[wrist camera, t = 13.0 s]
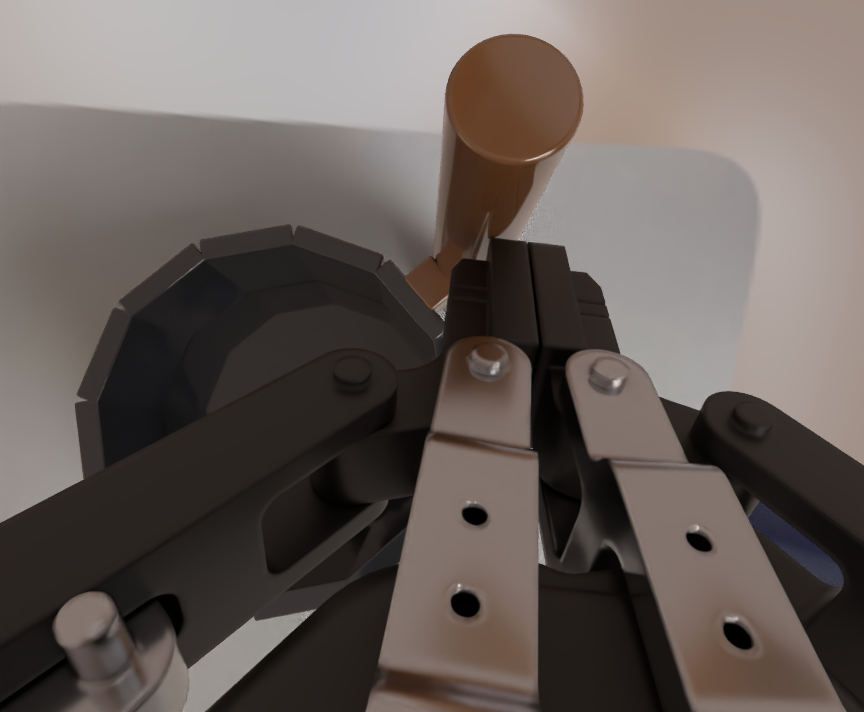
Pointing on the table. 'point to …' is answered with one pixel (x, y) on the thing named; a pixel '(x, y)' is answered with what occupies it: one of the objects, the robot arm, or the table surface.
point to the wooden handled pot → (330, 290)
